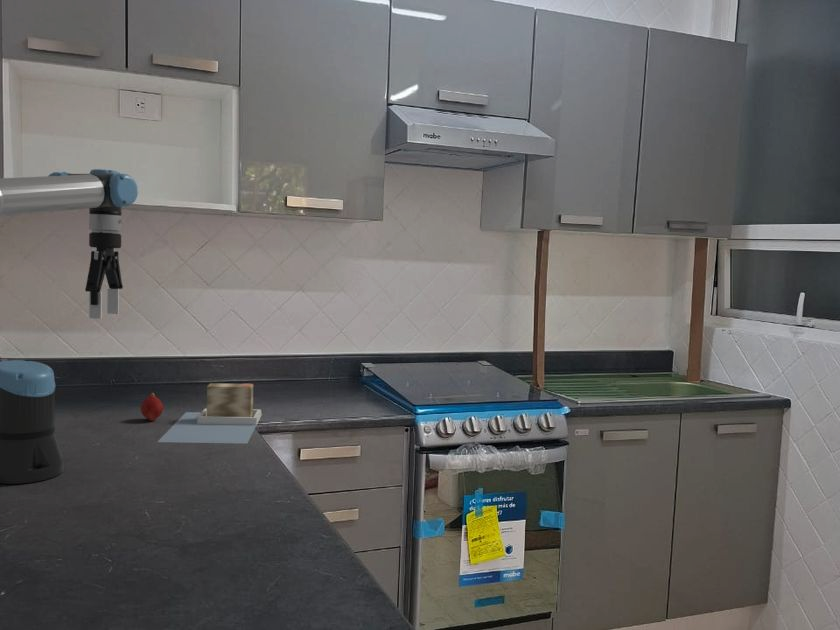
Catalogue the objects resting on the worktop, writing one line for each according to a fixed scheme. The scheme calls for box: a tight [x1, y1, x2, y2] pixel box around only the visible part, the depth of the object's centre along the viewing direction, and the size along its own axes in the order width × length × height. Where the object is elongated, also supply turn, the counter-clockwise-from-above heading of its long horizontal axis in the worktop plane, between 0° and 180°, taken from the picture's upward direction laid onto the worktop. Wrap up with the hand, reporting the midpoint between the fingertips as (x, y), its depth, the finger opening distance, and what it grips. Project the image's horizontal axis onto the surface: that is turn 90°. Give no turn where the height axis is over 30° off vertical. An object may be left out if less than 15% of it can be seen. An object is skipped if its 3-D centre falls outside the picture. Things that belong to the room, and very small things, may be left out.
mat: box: [157, 411, 263, 445], centre depth 206 cm, size 34×22×1 cm, turn 5°
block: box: [206, 382, 254, 417], centre depth 214 cm, size 12×5×10 cm, turn 95°
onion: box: [140, 392, 164, 422], centre depth 210 cm, size 6×6×8 cm
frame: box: [197, 407, 262, 426], centre depth 214 cm, size 11×16×2 cm
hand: (104, 316), depth 193 cm, fingers open, 13 cm apart
